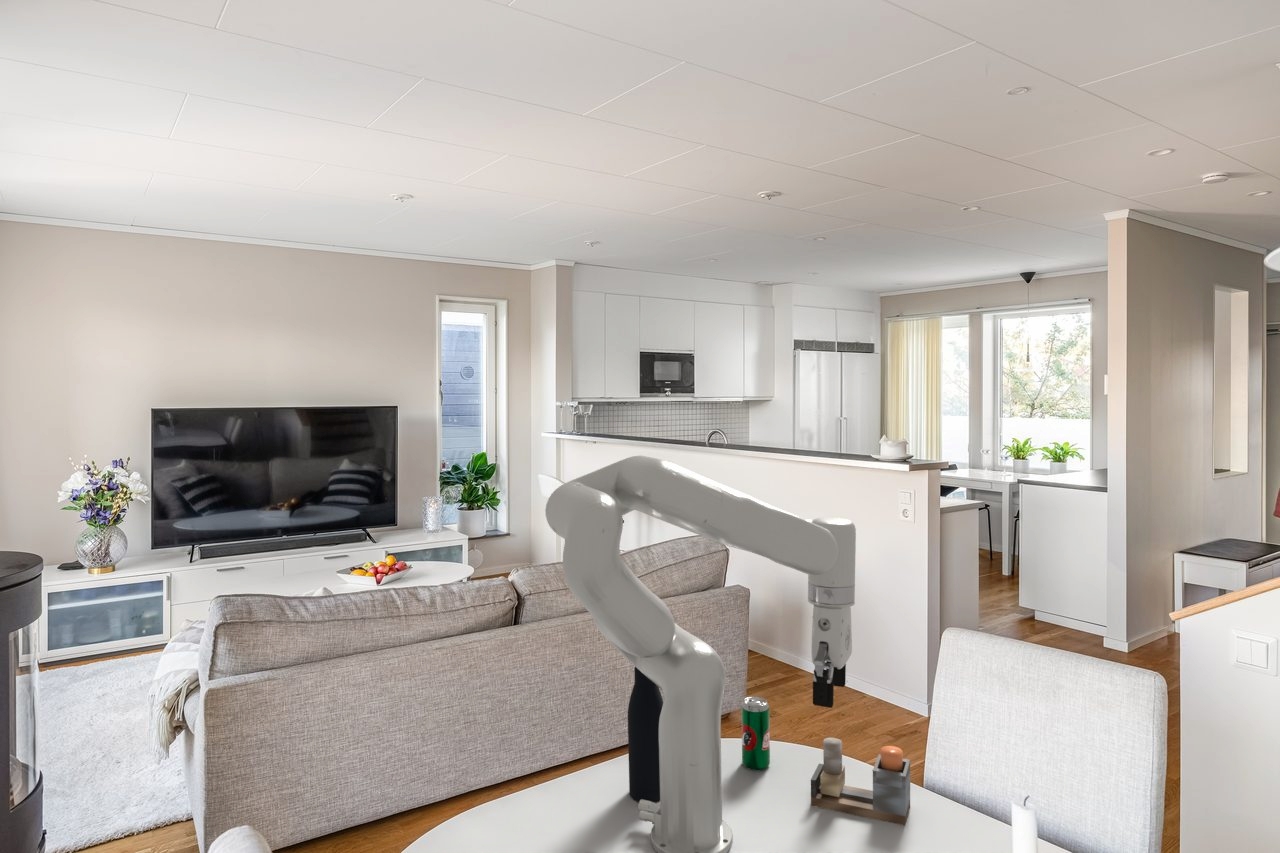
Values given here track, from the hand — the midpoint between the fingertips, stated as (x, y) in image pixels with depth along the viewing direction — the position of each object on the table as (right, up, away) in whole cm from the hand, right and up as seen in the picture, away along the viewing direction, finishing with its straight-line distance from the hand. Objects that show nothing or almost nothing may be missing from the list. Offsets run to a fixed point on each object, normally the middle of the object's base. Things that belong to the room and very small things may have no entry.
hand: (829, 695), depth 134 cm
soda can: (-10, -18, +14) cm, 25 cm away
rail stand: (+5, -18, -1) cm, 19 cm away
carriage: (+1, -16, +1) cm, 16 cm away
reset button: (+9, -10, -3) cm, 14 cm away
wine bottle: (-30, -19, +5) cm, 36 cm away
